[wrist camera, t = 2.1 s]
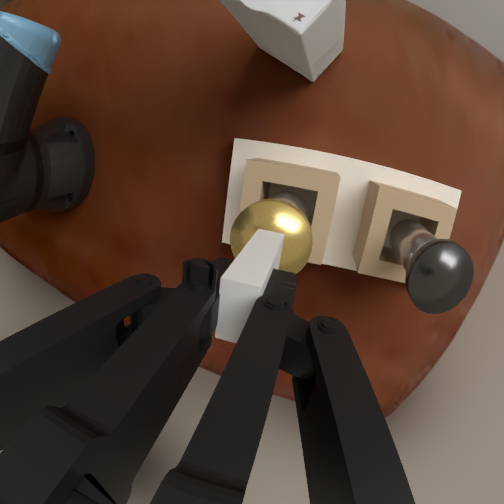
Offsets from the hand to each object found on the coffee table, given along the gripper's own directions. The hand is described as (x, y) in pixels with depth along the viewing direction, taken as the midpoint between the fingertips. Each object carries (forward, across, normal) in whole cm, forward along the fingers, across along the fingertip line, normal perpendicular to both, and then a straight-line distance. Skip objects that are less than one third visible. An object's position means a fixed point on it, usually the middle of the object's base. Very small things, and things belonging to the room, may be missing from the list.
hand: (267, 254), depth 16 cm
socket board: (+17, +6, 0) cm, 18 cm away
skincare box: (+18, -2, +18) cm, 25 cm away
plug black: (+11, +12, 0) cm, 16 cm away
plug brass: (+11, 0, 0) cm, 11 cm away
